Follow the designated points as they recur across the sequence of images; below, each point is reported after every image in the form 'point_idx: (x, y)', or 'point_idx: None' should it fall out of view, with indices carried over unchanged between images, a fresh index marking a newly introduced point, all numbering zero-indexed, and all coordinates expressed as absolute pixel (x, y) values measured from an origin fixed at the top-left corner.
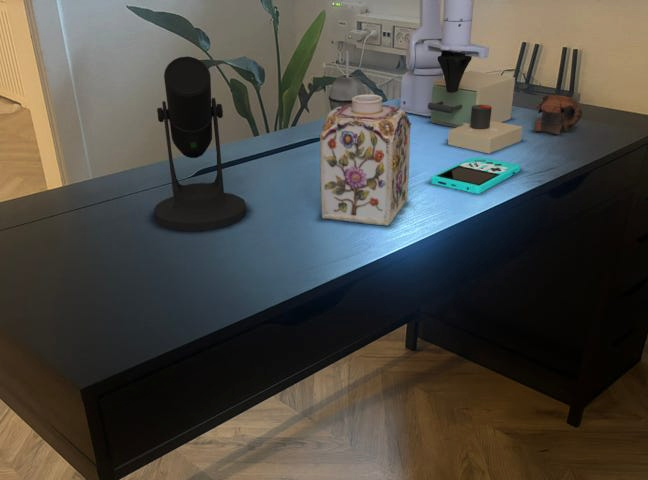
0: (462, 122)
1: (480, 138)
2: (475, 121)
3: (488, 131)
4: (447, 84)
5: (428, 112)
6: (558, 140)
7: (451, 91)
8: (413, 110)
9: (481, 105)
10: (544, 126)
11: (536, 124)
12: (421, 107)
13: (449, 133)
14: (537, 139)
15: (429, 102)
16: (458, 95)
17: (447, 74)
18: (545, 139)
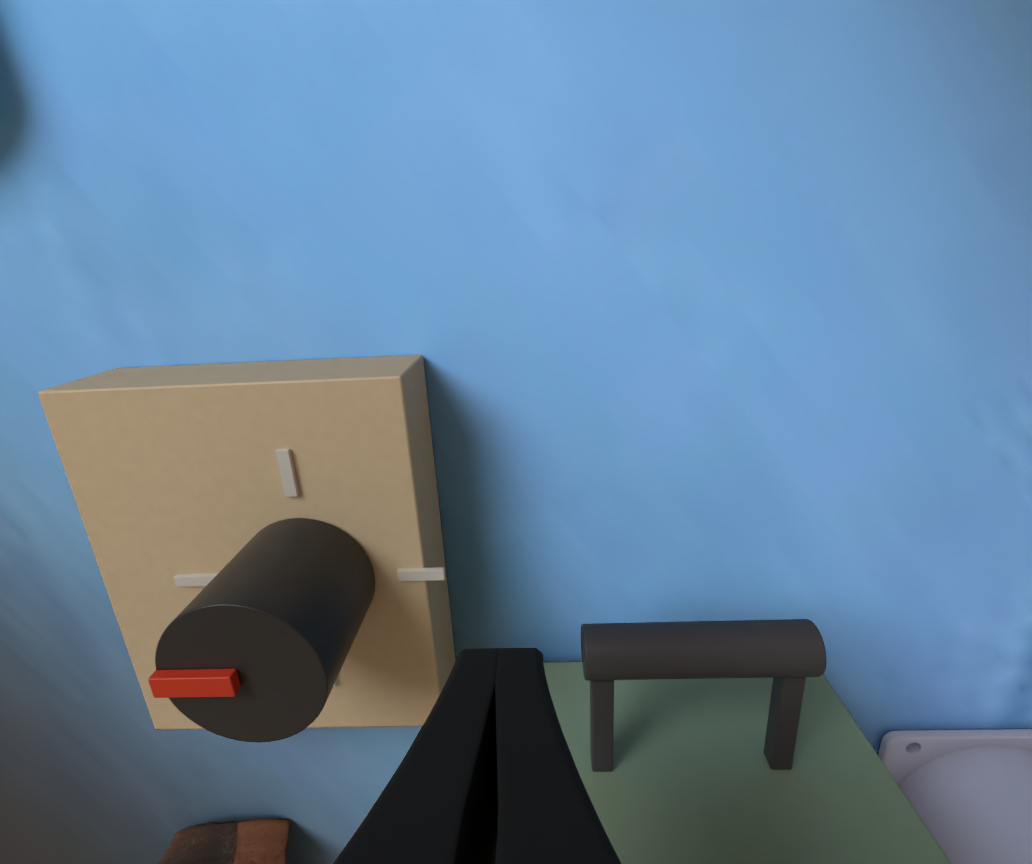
0: (571, 677)
1: (128, 384)
2: (268, 543)
3: (190, 526)
4: (516, 710)
5: (919, 771)
6: (112, 771)
7: (462, 658)
8: (1025, 752)
9: (283, 713)
10: (213, 849)
11: (265, 855)
12: (984, 779)
13: (398, 370)
14: (182, 733)
15: (960, 832)
16: (647, 839)
17: (502, 849)
18: (159, 752)
